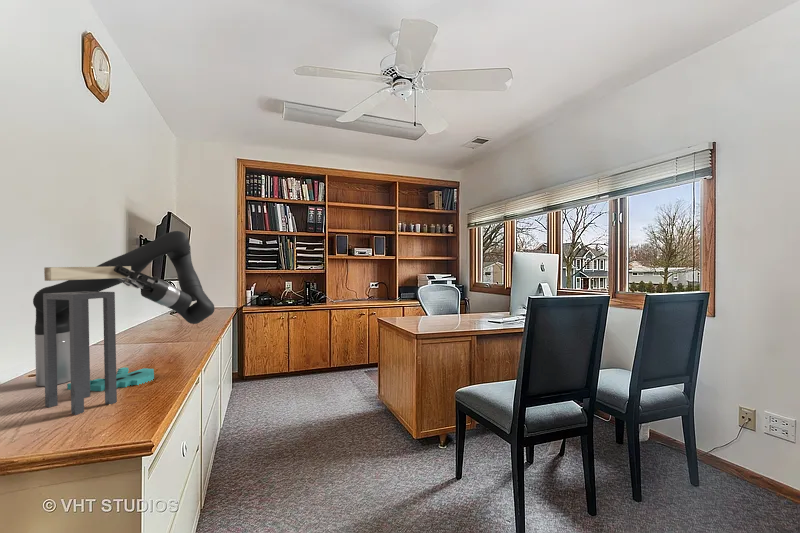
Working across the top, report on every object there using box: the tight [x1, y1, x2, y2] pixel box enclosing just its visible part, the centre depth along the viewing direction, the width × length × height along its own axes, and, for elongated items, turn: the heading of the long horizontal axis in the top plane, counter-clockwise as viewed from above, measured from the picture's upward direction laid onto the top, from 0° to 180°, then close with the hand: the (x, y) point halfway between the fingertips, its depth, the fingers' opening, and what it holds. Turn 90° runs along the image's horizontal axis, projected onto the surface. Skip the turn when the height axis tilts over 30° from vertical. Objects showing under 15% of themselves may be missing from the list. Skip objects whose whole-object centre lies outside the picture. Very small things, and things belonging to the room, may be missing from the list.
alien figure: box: [66, 366, 155, 392], centre depth 131 cm, size 20×2×20 cm
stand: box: [43, 291, 118, 416], centre depth 109 cm, size 16×10×32 cm, turn 64°
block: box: [43, 266, 131, 282], centre depth 112 cm, size 4×20×4 cm, turn 154°
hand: (112, 267), depth 117 cm, fingers closed on block, 3 cm apart
